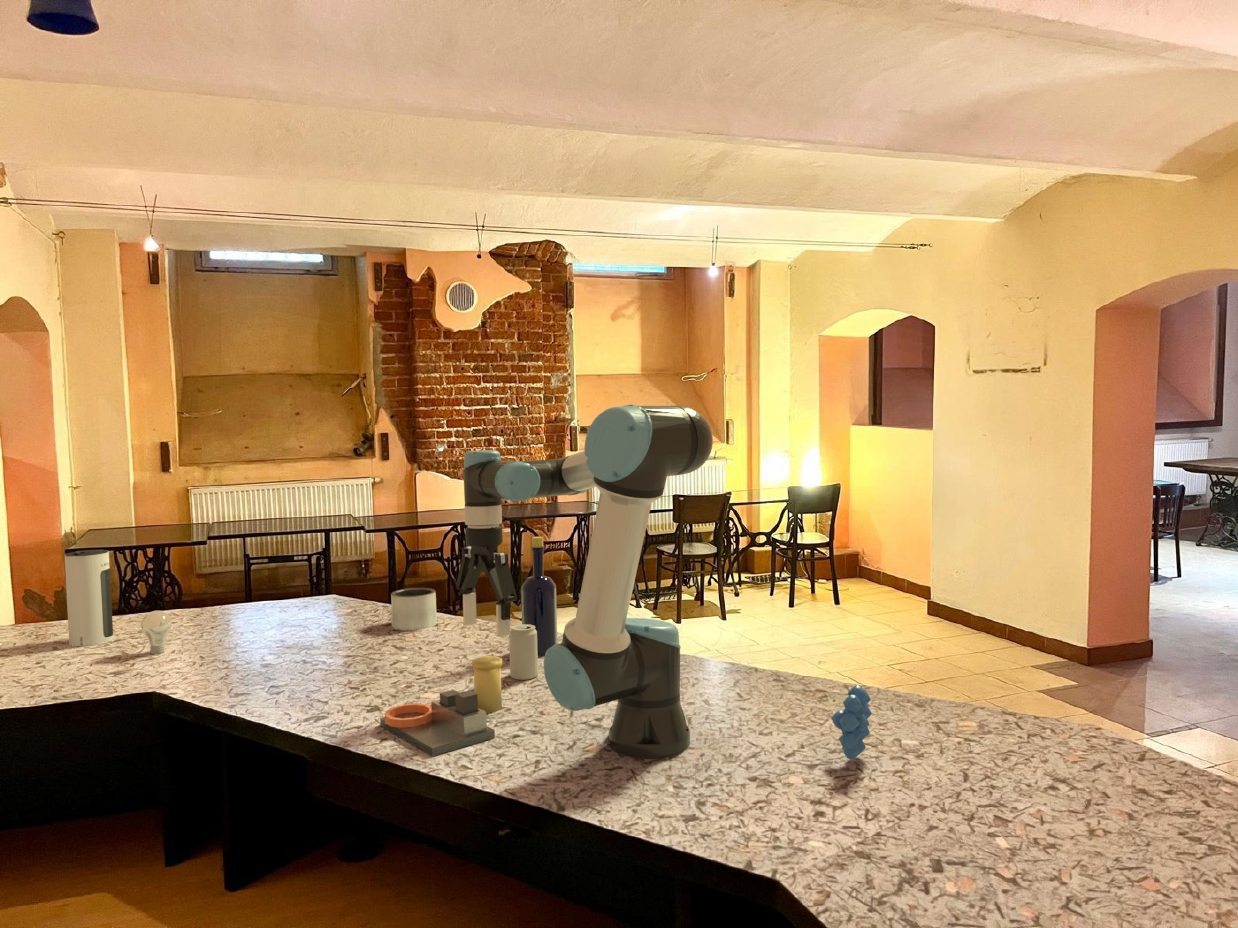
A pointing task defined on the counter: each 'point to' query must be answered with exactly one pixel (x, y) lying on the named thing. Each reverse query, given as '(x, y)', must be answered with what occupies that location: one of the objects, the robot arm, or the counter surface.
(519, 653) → the beverage can
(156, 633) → the light bulb
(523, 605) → the bottle
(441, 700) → the block
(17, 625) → the counter surface
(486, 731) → the breaker panel
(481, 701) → the cap
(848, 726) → the grapes
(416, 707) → the orange ring
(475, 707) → the block
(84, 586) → the speaker
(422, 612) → the planter
